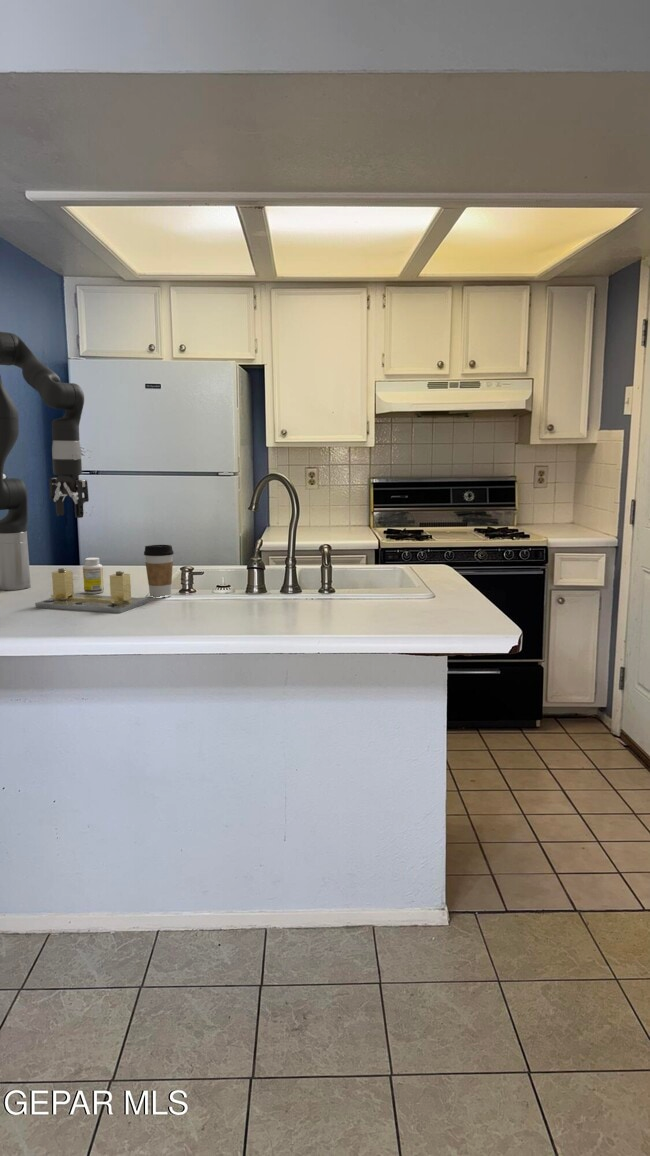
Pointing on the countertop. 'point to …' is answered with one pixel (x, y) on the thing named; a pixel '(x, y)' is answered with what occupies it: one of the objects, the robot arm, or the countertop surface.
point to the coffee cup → (159, 569)
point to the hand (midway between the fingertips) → (69, 516)
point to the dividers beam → (114, 590)
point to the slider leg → (62, 584)
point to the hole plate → (91, 604)
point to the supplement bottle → (93, 576)
